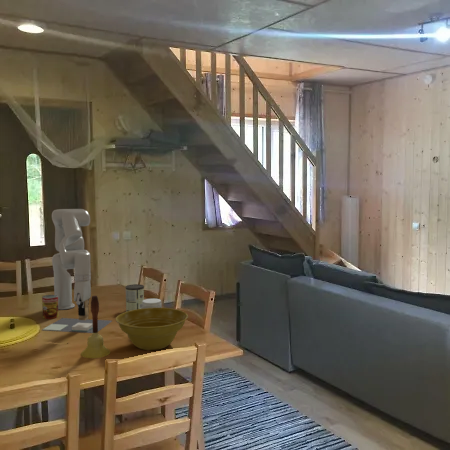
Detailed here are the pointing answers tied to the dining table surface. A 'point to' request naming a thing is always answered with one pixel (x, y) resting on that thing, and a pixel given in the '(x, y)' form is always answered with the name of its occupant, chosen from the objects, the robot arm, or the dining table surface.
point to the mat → (72, 322)
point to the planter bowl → (152, 326)
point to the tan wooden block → (85, 311)
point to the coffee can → (134, 297)
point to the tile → (82, 327)
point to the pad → (55, 327)
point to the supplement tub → (151, 303)
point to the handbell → (95, 336)
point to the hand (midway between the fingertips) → (83, 313)
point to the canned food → (50, 306)
